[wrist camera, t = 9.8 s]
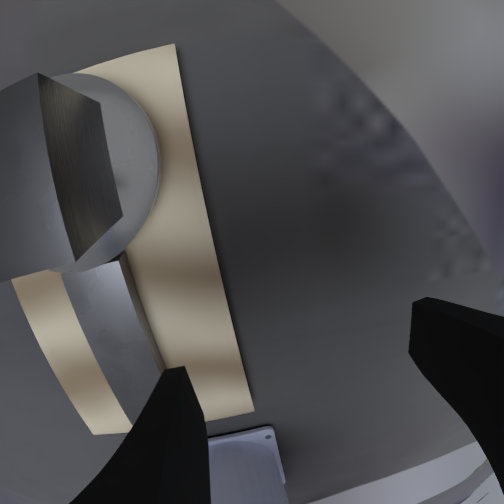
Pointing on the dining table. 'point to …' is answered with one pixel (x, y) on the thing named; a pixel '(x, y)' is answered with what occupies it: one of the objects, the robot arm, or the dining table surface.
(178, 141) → the board
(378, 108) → the dining table surface
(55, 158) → the charcoal matte cube
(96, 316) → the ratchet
